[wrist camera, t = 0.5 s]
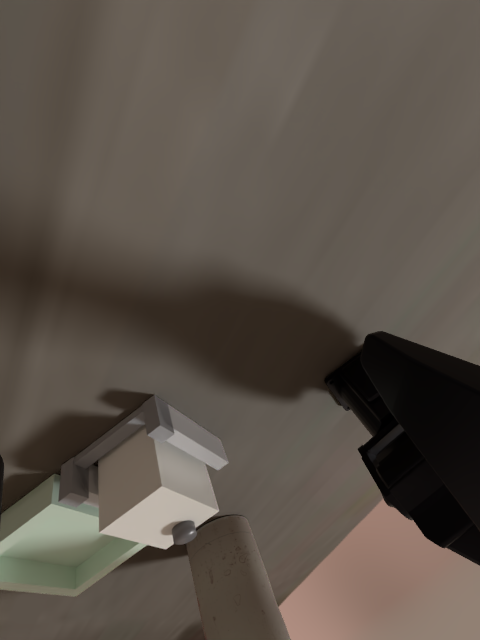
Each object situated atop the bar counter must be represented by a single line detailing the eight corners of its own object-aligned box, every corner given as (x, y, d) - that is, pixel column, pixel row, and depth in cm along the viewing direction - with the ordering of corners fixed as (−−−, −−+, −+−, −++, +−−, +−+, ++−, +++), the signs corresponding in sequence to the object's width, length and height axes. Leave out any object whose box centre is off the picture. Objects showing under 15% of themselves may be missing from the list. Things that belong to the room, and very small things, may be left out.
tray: (156, 509, 34) (160, 535, 32) (77, 568, 35) (76, 596, 33) (54, 473, 26) (51, 503, 24) (-45, 549, 27) (-56, 584, 25)
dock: (220, 439, 31) (230, 467, 29) (142, 496, 32) (146, 528, 30) (154, 394, 26) (160, 425, 23) (61, 465, 26) (58, 502, 24)
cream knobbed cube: (200, 448, 31) (222, 520, 26) (155, 482, 32) (167, 560, 26) (150, 418, 27) (163, 497, 22) (98, 457, 27) (99, 545, 22)
